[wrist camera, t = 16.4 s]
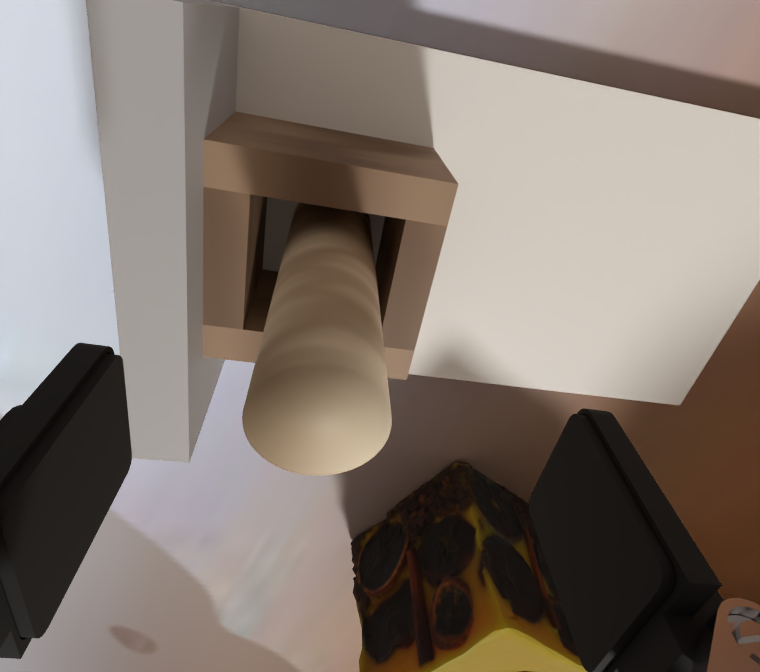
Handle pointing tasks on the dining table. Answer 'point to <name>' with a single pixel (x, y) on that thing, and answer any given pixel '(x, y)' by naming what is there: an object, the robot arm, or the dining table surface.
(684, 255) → the board
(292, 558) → the dining table surface
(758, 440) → the dining table surface
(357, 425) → the dowel
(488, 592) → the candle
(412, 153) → the brown square wooden frame
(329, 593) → the dining table surface
